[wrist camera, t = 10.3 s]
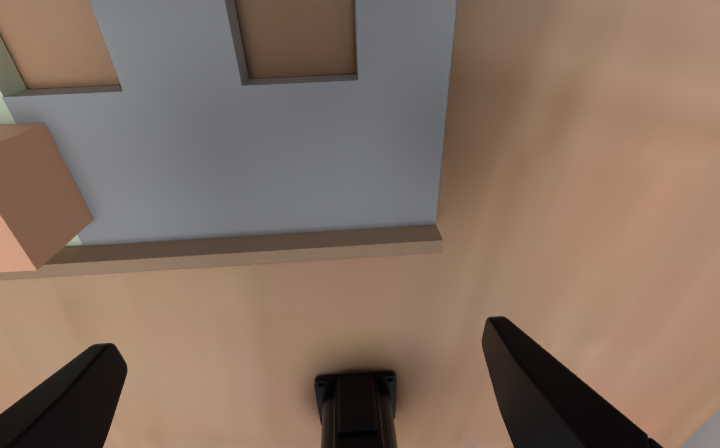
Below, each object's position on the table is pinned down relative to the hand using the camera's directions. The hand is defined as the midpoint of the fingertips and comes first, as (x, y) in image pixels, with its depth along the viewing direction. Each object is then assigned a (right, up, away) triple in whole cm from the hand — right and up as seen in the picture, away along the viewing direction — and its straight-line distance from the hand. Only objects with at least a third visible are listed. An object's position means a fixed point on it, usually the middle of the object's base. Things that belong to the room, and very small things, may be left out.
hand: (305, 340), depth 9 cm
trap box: (-8, +8, +9) cm, 14 cm away
